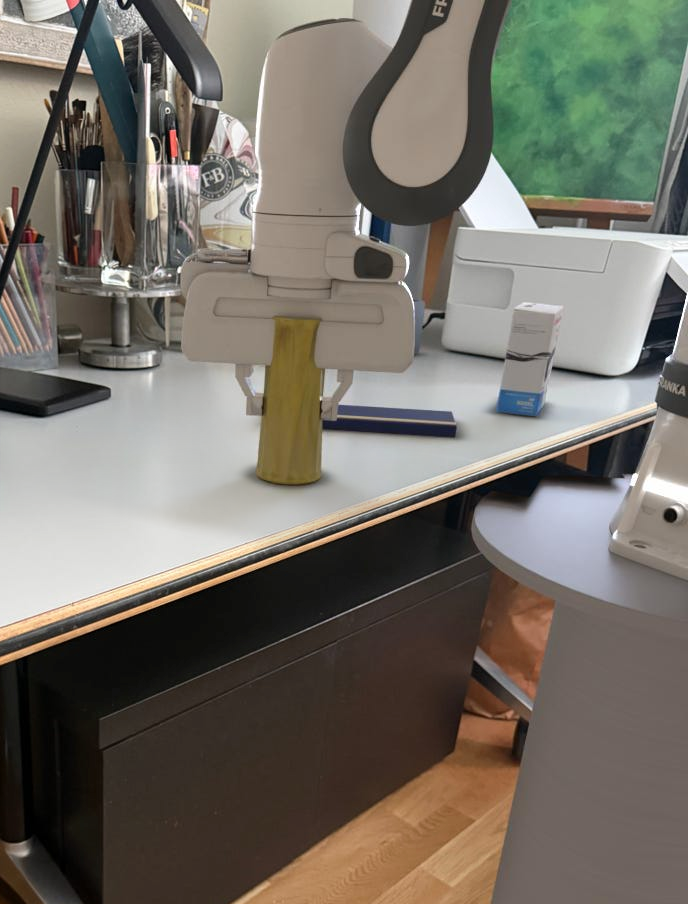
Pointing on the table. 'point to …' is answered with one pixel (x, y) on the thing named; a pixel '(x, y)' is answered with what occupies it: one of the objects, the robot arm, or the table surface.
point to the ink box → (529, 358)
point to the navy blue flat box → (393, 421)
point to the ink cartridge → (418, 322)
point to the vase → (292, 406)
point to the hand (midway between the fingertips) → (292, 416)
